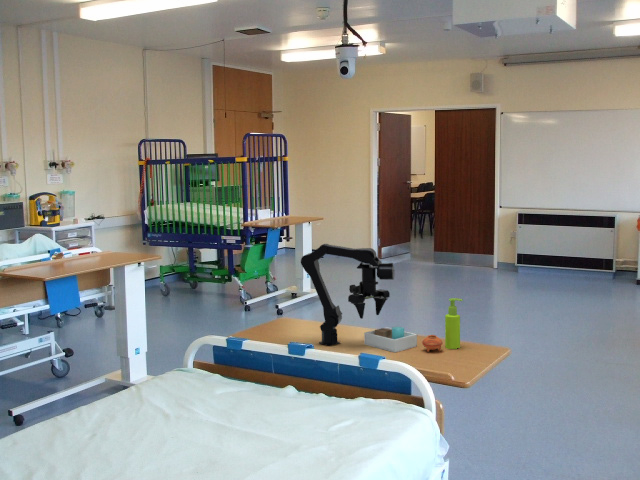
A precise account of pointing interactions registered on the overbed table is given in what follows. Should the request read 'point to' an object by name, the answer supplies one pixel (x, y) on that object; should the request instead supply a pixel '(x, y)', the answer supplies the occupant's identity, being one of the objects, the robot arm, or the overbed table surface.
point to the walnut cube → (384, 332)
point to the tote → (390, 341)
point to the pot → (432, 342)
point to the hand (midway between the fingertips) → (369, 316)
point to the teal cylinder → (397, 332)
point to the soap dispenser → (452, 326)
